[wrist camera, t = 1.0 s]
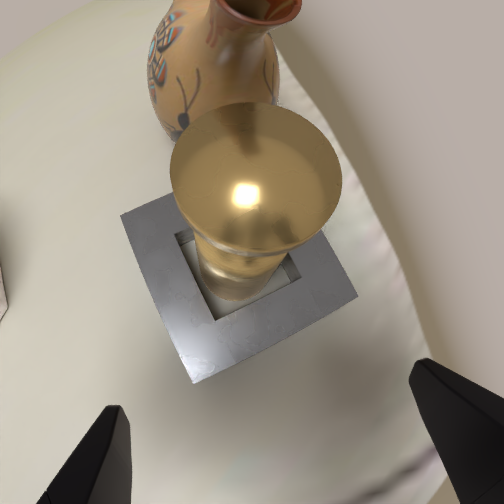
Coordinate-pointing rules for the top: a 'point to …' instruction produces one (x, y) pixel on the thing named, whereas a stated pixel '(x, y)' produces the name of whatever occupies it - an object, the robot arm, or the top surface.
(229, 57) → the ceramic vessel
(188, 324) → the grey square flat frame
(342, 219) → the top surface
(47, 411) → the top surface
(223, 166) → the brass goblet
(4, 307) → the jar
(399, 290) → the top surface
